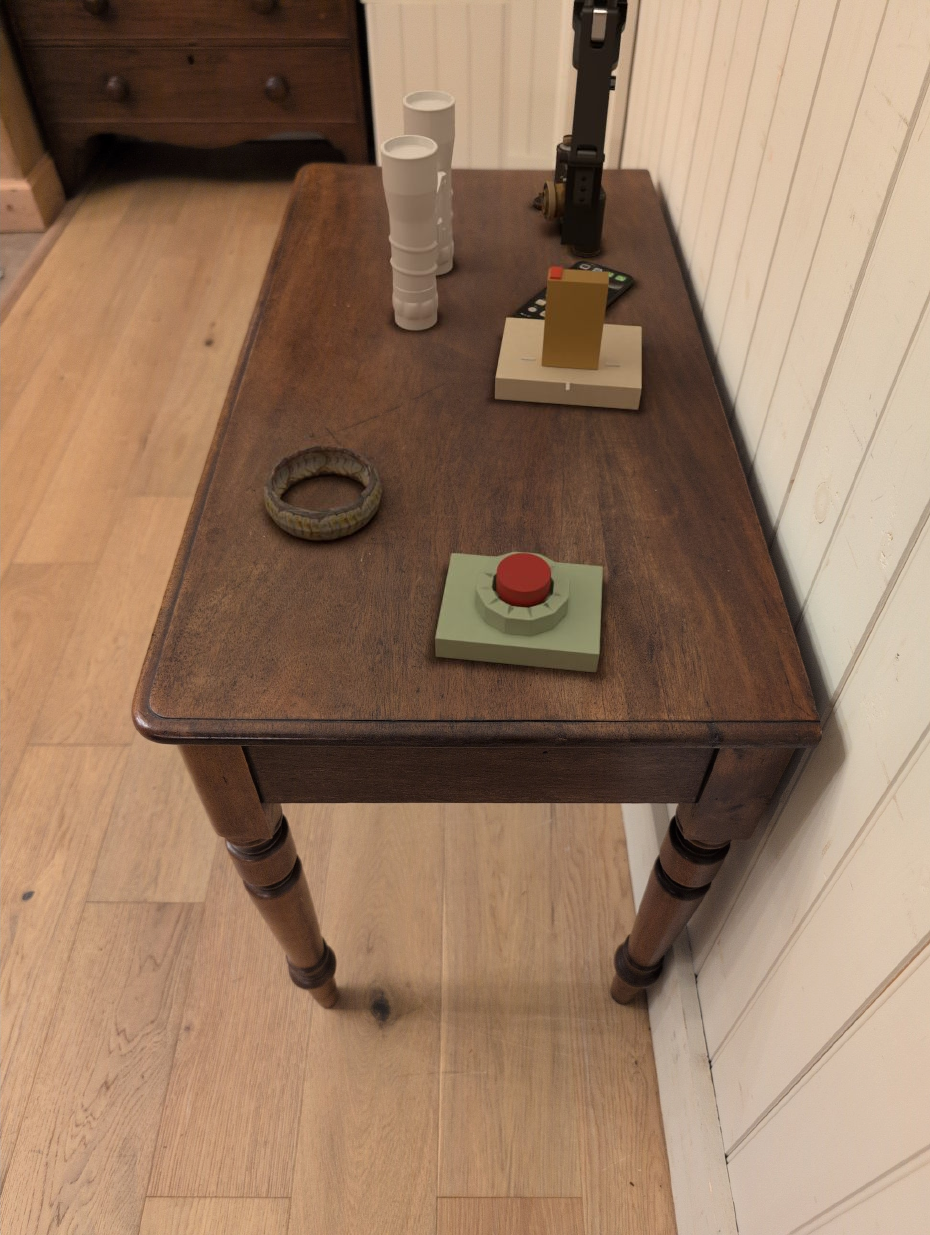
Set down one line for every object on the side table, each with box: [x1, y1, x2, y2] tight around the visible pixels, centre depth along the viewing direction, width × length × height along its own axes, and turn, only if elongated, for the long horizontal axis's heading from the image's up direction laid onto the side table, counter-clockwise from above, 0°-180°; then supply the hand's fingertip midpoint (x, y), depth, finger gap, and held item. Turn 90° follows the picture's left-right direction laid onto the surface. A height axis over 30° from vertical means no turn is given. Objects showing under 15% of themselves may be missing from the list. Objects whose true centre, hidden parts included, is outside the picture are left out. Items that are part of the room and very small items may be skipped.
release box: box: [434, 551, 604, 673], centre depth 70 cm, size 12×9×4 cm
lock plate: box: [494, 317, 643, 411], centre depth 92 cm, size 14×12×3 cm
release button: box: [496, 552, 551, 607], centre depth 68 cm, size 4×4×2 cm
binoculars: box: [379, 89, 456, 331], centre depth 97 cm, size 17×5×18 cm, turn 172°
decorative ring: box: [263, 444, 383, 541], centre depth 79 cm, size 10×3×10 cm
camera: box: [532, 133, 607, 258], centre depth 112 cm, size 16×7×8 cm, turn 7°
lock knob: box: [541, 265, 609, 370], centre depth 87 cm, size 6×2×9 cm, turn 83°
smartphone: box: [514, 260, 634, 320], centre depth 102 cm, size 7×1×15 cm
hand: (581, 206), depth 79 cm, fingers open, 13 cm apart
